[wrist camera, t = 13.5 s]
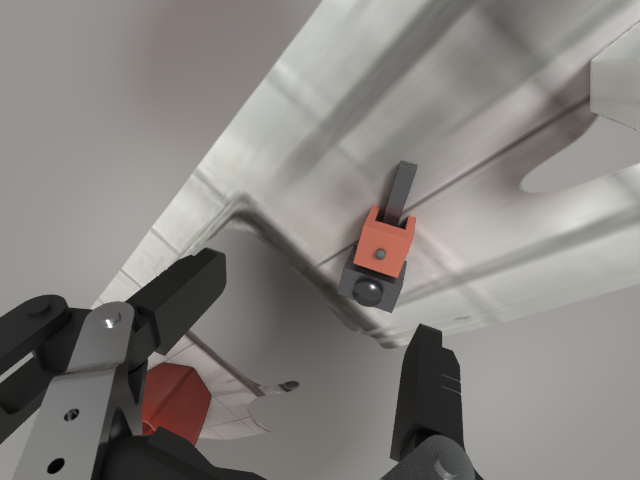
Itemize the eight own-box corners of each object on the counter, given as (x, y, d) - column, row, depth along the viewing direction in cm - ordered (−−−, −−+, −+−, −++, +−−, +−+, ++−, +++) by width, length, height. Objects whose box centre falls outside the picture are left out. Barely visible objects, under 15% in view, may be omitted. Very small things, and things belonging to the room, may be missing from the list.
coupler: (377, 154, 38) (366, 172, 33) (442, 171, 37) (441, 192, 31) (347, 270, 49) (335, 298, 43) (396, 286, 47) (390, 318, 42)
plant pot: (177, 395, 96) (134, 452, 83) (148, 352, 88) (94, 407, 74) (225, 405, 88) (186, 469, 75) (197, 359, 80) (147, 422, 67)
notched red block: (372, 205, 42) (362, 228, 37) (416, 217, 41) (411, 243, 35) (362, 240, 45) (351, 266, 40) (402, 253, 44) (396, 281, 39)
